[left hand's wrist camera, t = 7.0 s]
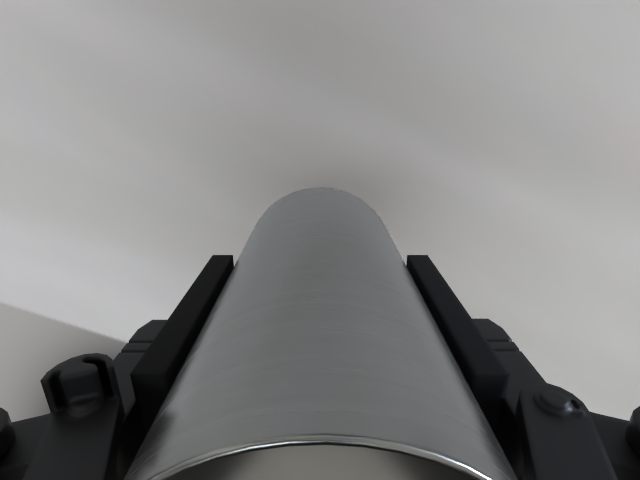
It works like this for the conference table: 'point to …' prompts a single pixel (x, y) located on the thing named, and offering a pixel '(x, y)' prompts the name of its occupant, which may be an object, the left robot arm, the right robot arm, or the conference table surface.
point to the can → (320, 366)
